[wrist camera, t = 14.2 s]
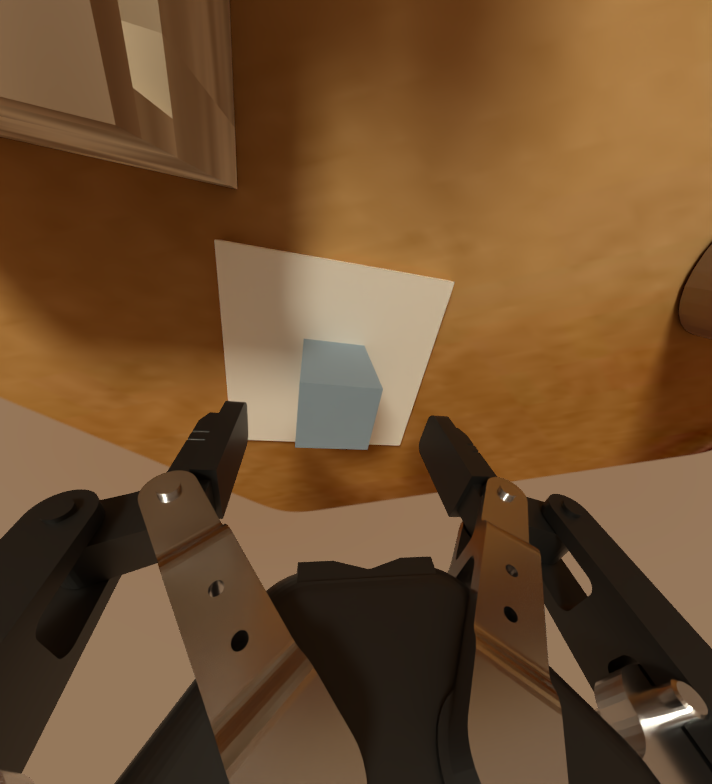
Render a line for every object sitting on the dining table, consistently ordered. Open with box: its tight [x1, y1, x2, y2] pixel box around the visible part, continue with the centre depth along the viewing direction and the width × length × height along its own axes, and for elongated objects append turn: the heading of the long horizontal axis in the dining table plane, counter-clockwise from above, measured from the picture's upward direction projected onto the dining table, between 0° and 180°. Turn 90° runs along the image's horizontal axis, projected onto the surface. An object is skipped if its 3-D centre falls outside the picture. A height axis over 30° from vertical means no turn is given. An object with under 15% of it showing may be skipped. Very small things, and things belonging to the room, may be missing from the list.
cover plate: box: [214, 239, 455, 450], centre depth 14 cm, size 12×12×6 cm
